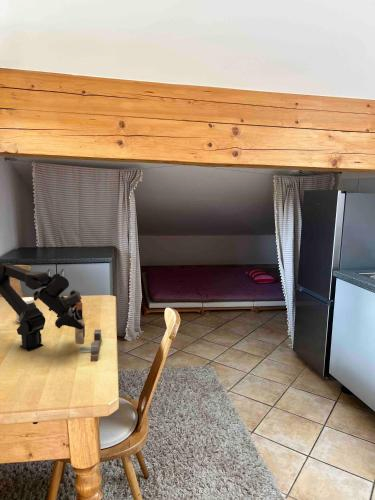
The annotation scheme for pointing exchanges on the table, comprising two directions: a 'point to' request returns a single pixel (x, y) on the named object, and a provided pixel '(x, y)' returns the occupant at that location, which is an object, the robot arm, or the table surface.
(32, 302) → the spread jar
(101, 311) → the table surface
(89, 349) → the rail
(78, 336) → the tan wooden block
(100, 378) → the table surface
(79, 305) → the battery
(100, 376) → the table surface
